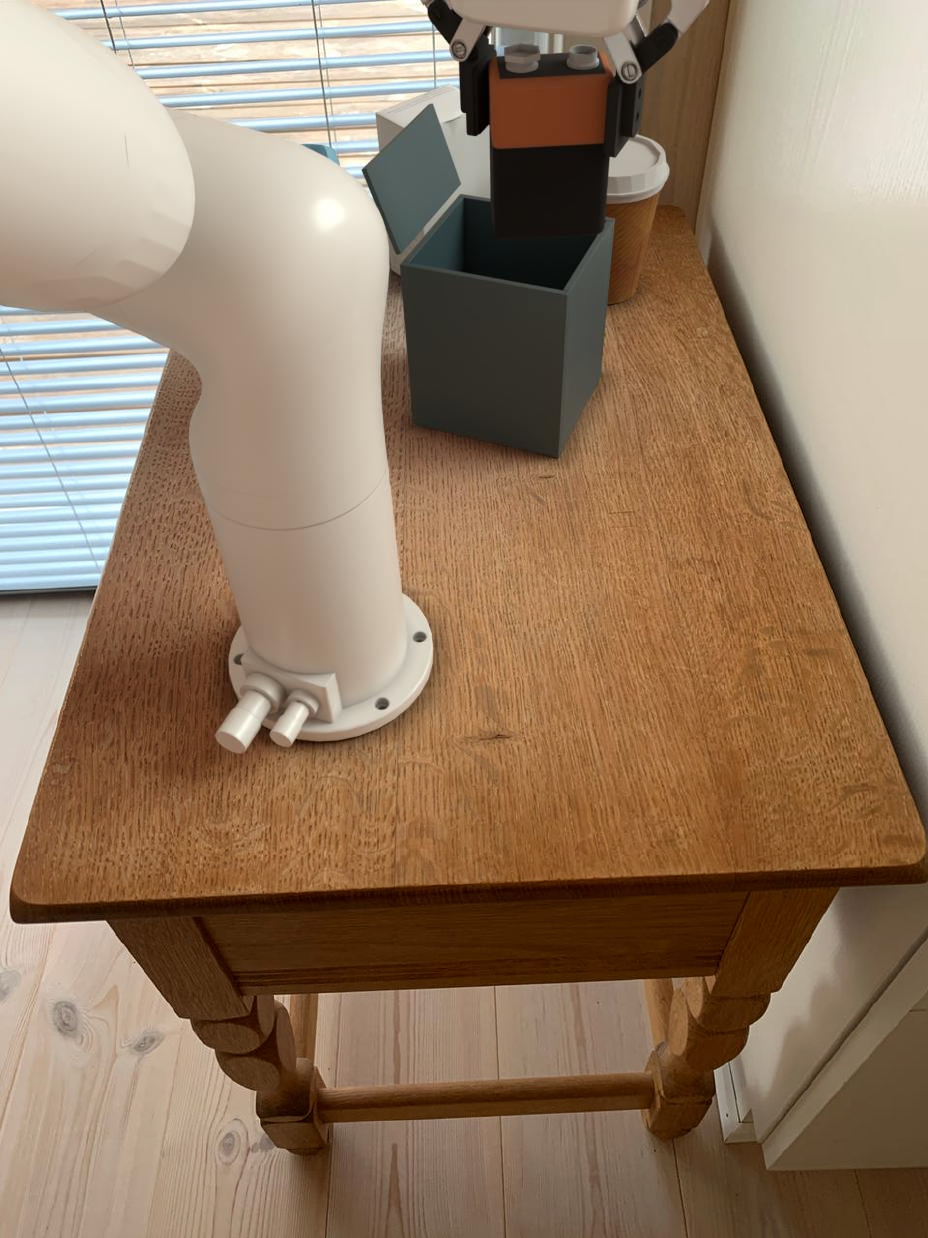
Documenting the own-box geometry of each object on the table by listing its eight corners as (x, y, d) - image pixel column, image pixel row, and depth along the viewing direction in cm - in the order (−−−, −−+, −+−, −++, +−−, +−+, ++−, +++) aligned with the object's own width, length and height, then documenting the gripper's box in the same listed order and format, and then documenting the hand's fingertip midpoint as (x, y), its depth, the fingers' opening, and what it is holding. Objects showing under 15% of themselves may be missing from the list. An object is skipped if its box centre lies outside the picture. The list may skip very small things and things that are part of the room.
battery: (490, 208, 63) (487, 37, 55) (596, 203, 63) (607, 30, 55) (494, 243, 60) (491, 67, 53) (605, 237, 60) (618, 60, 53)
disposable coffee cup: (645, 321, 86) (662, 184, 77) (538, 307, 88) (543, 172, 79) (661, 266, 92) (679, 134, 83) (561, 255, 94) (568, 124, 85)
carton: (412, 424, 77) (399, 264, 67) (465, 349, 84) (460, 193, 74) (558, 458, 74) (567, 295, 64) (600, 377, 81) (615, 217, 71)
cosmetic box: (456, 243, 96) (450, 79, 85) (496, 266, 93) (495, 99, 82) (386, 273, 93) (371, 106, 81) (426, 298, 89) (415, 129, 78)
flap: (400, 254, 66) (396, 255, 67) (461, 184, 73) (457, 185, 73) (365, 168, 63) (360, 169, 63) (432, 102, 70) (428, 104, 70)
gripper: (349, -253, 45) (386, 142, 58) (731, -241, 40) (676, 188, 53) (420, -281, 49) (439, 92, 62) (771, -273, 44) (711, 131, 57)
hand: (548, 134), depth 58 cm, fingers closed on battery, 7 cm apart
